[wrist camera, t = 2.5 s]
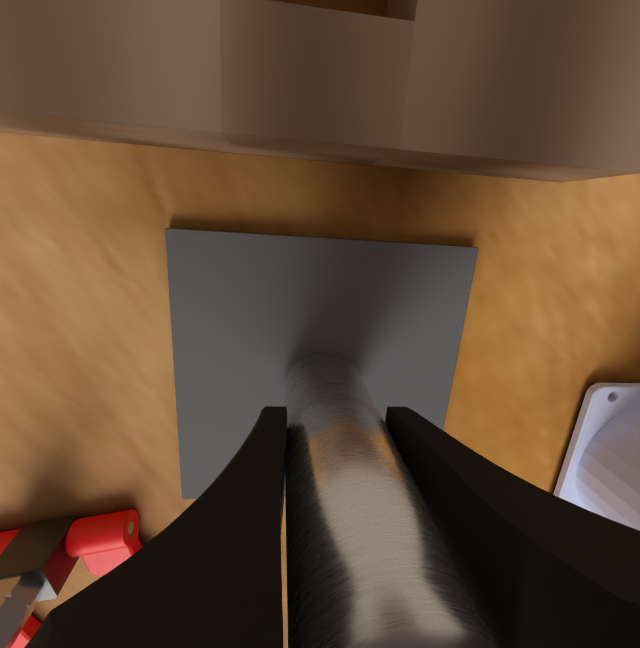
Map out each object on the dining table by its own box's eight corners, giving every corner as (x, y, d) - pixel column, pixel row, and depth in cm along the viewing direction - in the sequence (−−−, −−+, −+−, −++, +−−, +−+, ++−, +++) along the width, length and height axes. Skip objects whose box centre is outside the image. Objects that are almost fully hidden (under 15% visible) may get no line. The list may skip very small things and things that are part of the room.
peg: (365, 352, 13) (531, 618, 4) (357, 422, 14) (483, 756, 5) (284, 350, 13) (294, 636, 4) (282, 422, 13) (285, 783, 5)
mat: (472, 246, 13) (478, 247, 13) (427, 484, 16) (431, 490, 16) (169, 228, 12) (165, 228, 11) (184, 491, 15) (182, 499, 15)
